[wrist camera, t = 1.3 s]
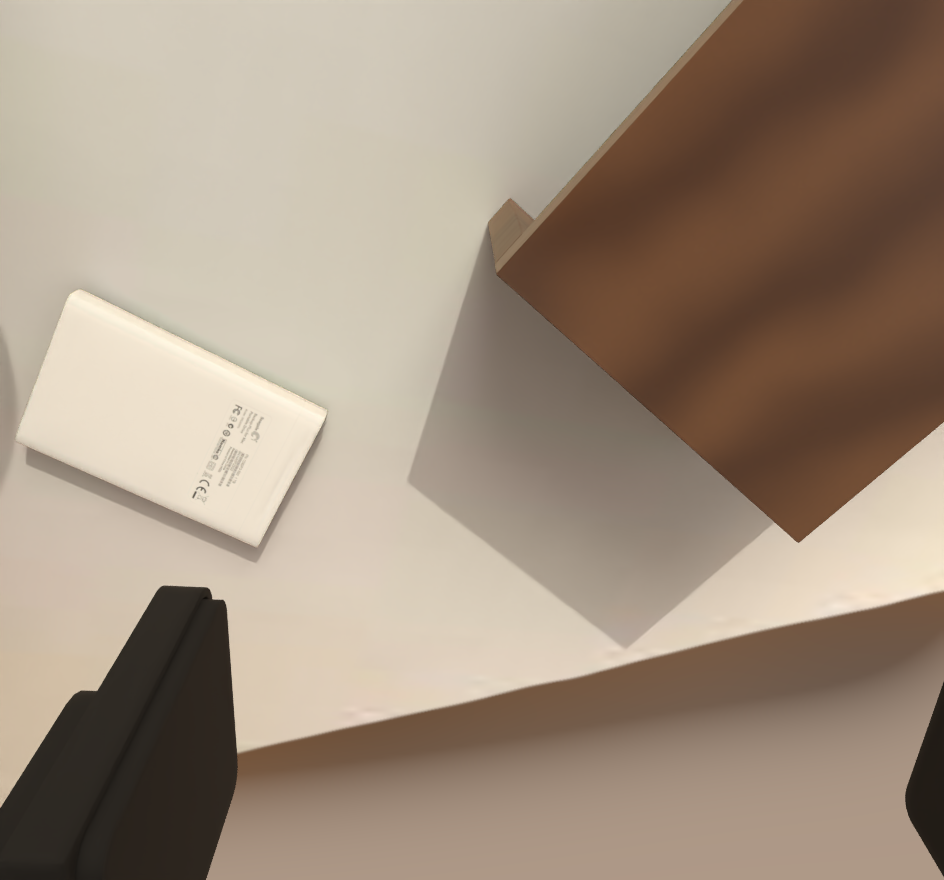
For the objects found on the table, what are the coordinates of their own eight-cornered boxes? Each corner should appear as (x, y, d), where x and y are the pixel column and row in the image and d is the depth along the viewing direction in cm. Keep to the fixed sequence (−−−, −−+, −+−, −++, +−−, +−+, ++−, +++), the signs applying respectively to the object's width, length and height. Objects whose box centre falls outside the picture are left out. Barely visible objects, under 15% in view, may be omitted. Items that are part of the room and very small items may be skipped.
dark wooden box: (487, 223, 38) (495, 274, 29) (843, -183, 32) (998, -282, 23) (724, 439, 42) (798, 543, 33) (1076, 119, 36) (1284, 138, 27)
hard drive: (82, 285, 39) (329, 408, 41) (27, 430, 41) (262, 536, 44) (67, 294, 37) (324, 421, 40) (11, 443, 40) (255, 552, 42)
